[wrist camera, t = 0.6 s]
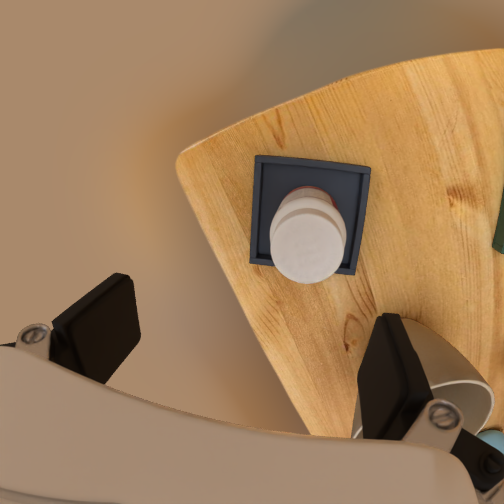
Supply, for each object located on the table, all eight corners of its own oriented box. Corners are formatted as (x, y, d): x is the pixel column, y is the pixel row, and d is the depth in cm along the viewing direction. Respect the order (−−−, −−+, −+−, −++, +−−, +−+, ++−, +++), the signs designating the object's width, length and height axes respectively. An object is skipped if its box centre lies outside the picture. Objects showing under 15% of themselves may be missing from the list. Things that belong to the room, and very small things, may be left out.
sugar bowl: (502, 416, 36) (517, 455, 25) (500, 441, 39) (511, 475, 28) (442, 449, 41) (452, 491, 30) (449, 468, 44) (456, 504, 33)
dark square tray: (258, 154, 30) (254, 155, 28) (367, 166, 28) (371, 167, 26) (252, 257, 34) (249, 263, 32) (352, 268, 32) (354, 275, 30)
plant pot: (465, 310, 31) (518, 391, 16) (407, 388, 36) (427, 474, 22) (378, 272, 31) (418, 365, 17) (323, 364, 37) (320, 464, 22)
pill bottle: (333, 245, 31) (344, 296, 21) (276, 238, 32) (260, 286, 21) (341, 188, 29) (359, 212, 18) (281, 181, 30) (266, 202, 19)
